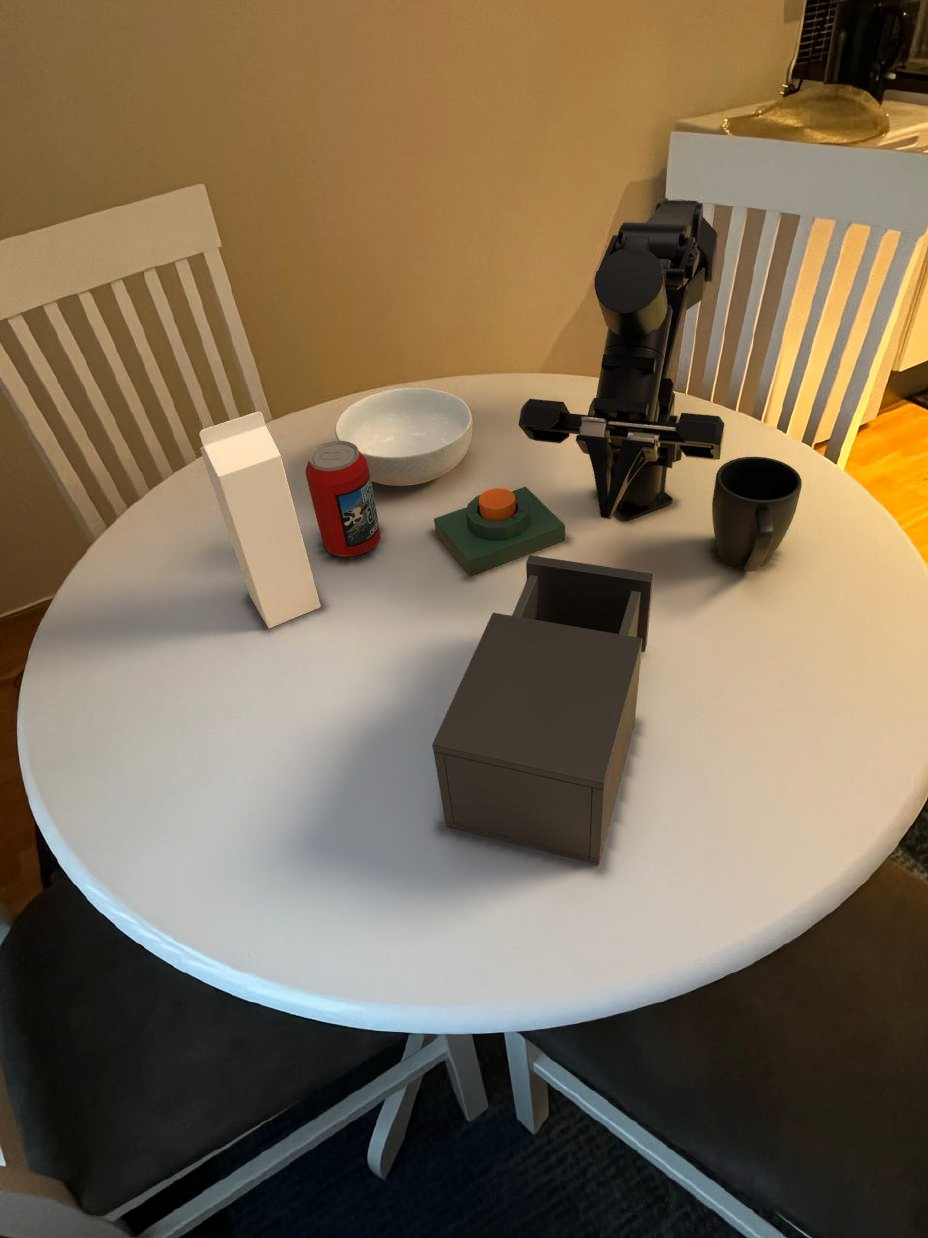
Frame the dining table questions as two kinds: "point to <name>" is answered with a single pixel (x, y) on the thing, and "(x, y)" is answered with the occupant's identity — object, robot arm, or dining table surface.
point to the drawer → (587, 596)
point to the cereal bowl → (408, 434)
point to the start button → (497, 504)
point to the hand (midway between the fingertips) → (605, 518)
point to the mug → (753, 509)
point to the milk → (260, 517)
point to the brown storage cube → (540, 735)
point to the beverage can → (343, 498)
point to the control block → (498, 533)
